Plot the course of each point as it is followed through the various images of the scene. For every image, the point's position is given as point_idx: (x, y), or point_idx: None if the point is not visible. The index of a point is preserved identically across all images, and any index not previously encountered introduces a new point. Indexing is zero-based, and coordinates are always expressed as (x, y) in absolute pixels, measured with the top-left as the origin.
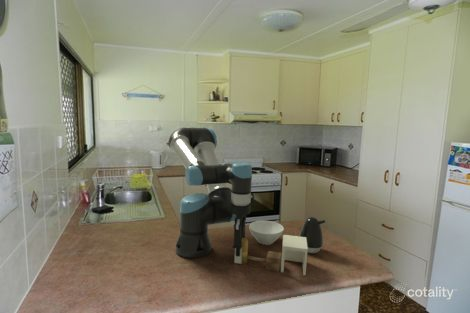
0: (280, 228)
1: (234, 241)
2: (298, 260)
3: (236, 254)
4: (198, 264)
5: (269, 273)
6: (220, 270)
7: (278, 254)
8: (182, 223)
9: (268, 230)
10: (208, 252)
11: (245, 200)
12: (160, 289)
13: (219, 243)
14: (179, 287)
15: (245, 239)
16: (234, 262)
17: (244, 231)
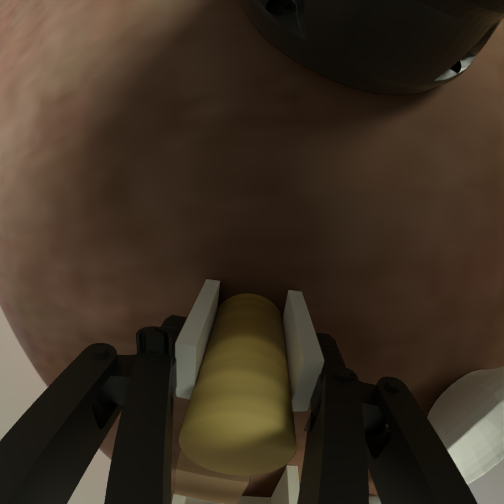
0: (470, 470)
1: (49, 392)
2: (273, 496)
3: (164, 327)
4: (164, 43)
5: None
6: (110, 194)
7: (216, 498)
8: None
9: (501, 415)
10: (322, 71)
11: None
12: (6, 20)
13: (473, 157)
14: (2, 65)
15: (246, 462)
16: (206, 280)
17: (373, 477)
